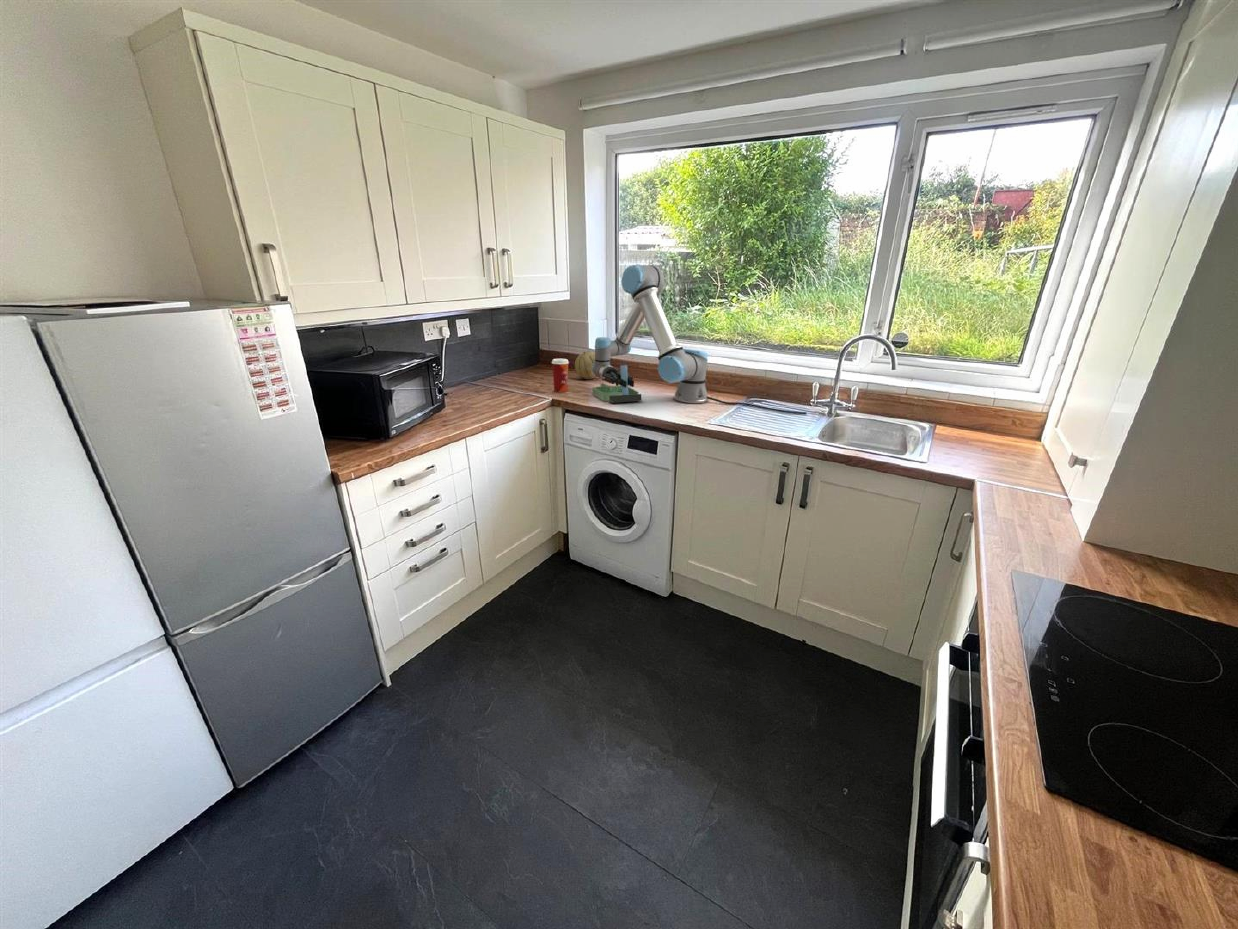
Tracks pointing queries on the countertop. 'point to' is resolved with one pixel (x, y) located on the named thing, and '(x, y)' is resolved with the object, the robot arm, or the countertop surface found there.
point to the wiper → (625, 390)
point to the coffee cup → (560, 374)
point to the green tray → (606, 391)
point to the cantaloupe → (585, 365)
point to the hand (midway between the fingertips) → (629, 384)
